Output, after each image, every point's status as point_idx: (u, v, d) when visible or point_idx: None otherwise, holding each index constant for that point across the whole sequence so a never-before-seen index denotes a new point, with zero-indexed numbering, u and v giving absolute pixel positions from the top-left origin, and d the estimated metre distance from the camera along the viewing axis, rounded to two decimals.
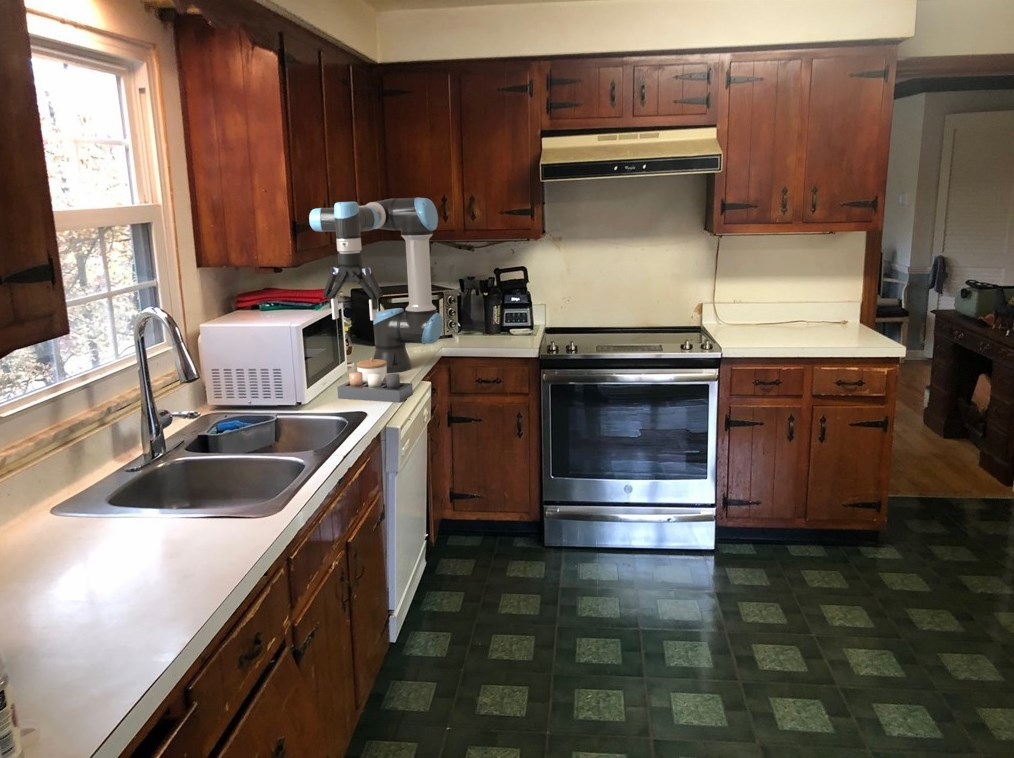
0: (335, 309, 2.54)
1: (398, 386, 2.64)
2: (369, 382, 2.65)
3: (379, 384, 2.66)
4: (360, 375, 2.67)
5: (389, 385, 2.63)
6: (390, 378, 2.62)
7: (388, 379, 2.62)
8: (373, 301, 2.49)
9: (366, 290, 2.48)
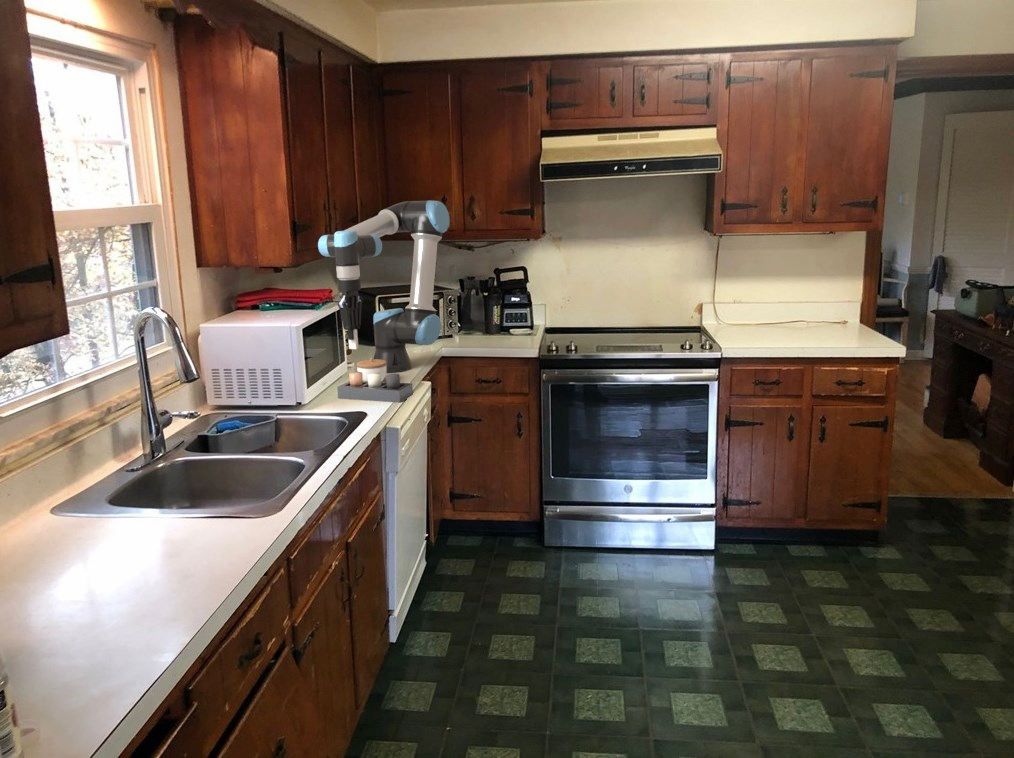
0: None
1: (398, 386, 2.64)
2: (369, 382, 2.65)
3: (379, 384, 2.66)
4: (360, 375, 2.67)
5: (389, 385, 2.63)
6: (390, 378, 2.62)
7: (388, 379, 2.62)
8: None
9: None
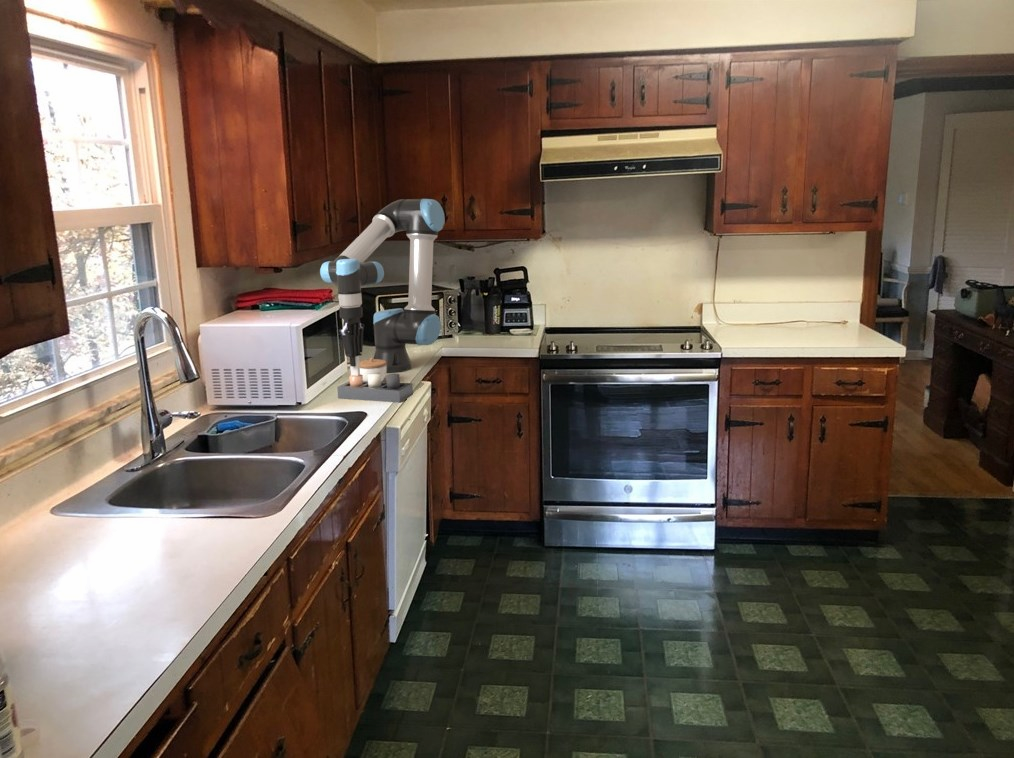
0: None
1: (398, 386, 2.64)
2: (369, 382, 2.65)
3: (379, 384, 2.66)
4: (360, 377, 2.68)
5: (389, 385, 2.63)
6: (390, 378, 2.62)
7: (388, 379, 2.62)
8: None
9: None
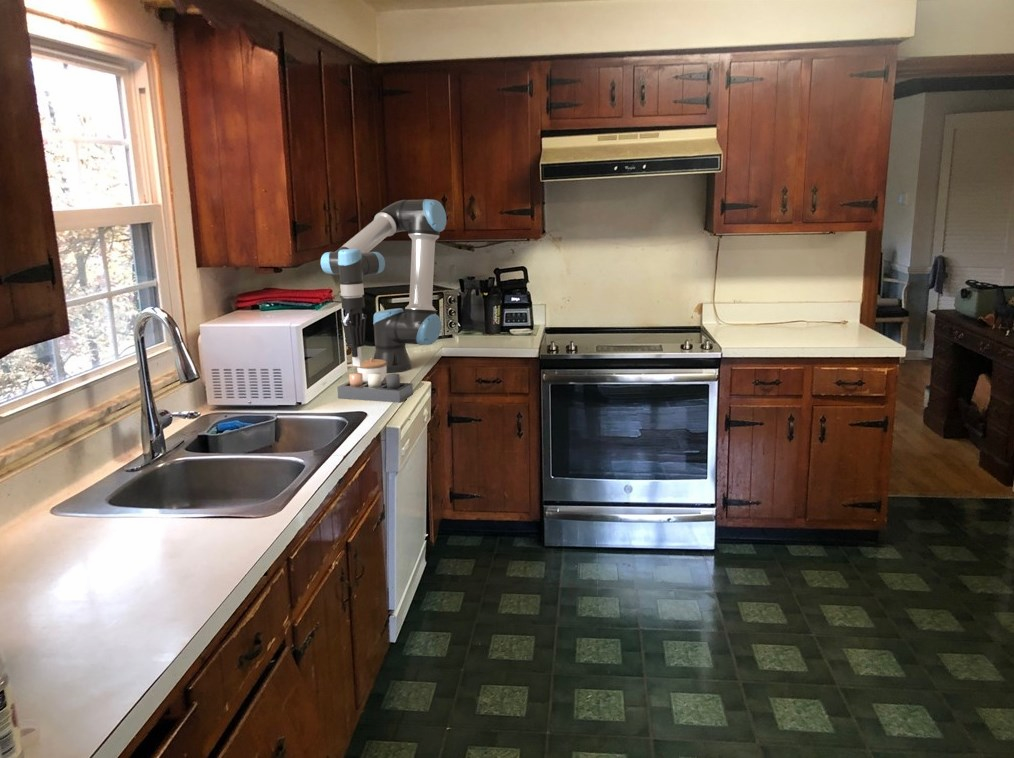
0: None
1: (398, 386, 2.64)
2: (369, 382, 2.65)
3: (379, 384, 2.66)
4: (360, 376, 2.67)
5: (389, 385, 2.63)
6: (390, 378, 2.62)
7: (388, 379, 2.62)
8: None
9: None
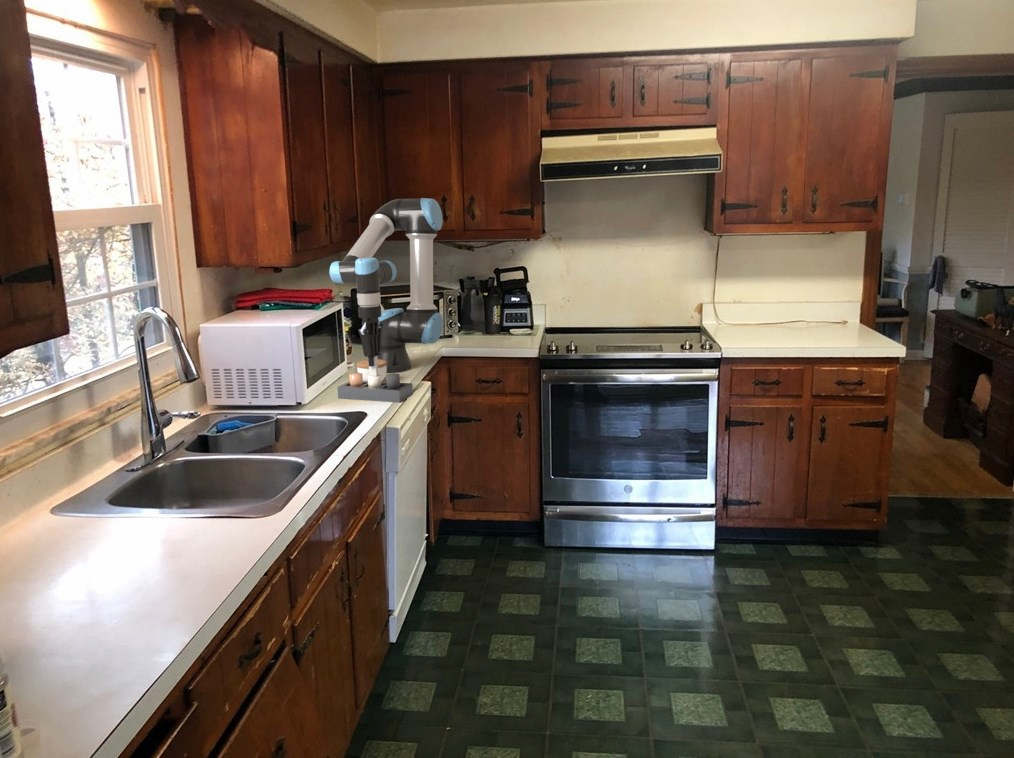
0: None
1: (398, 386, 2.64)
2: (369, 383, 2.65)
3: (379, 385, 2.66)
4: (360, 376, 2.67)
5: (389, 385, 2.63)
6: (390, 378, 2.62)
7: (388, 379, 2.62)
8: None
9: None
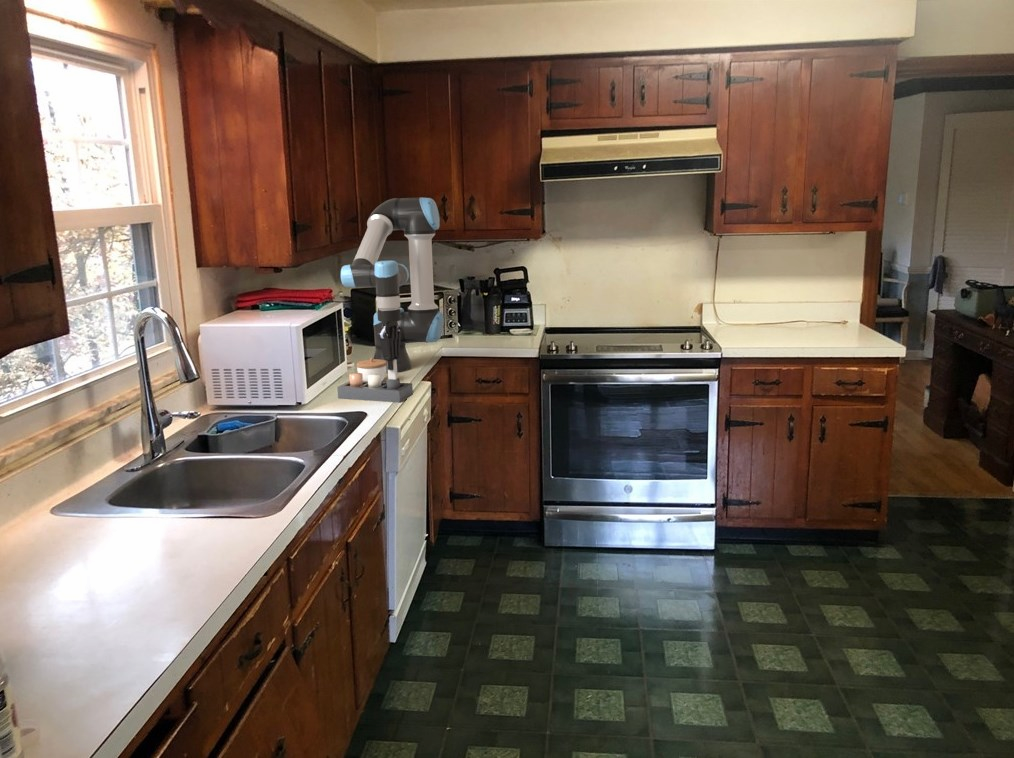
0: None
1: None
2: (369, 383, 2.65)
3: (379, 385, 2.66)
4: (360, 376, 2.67)
5: None
6: (390, 382, 2.62)
7: (388, 383, 2.63)
8: None
9: None
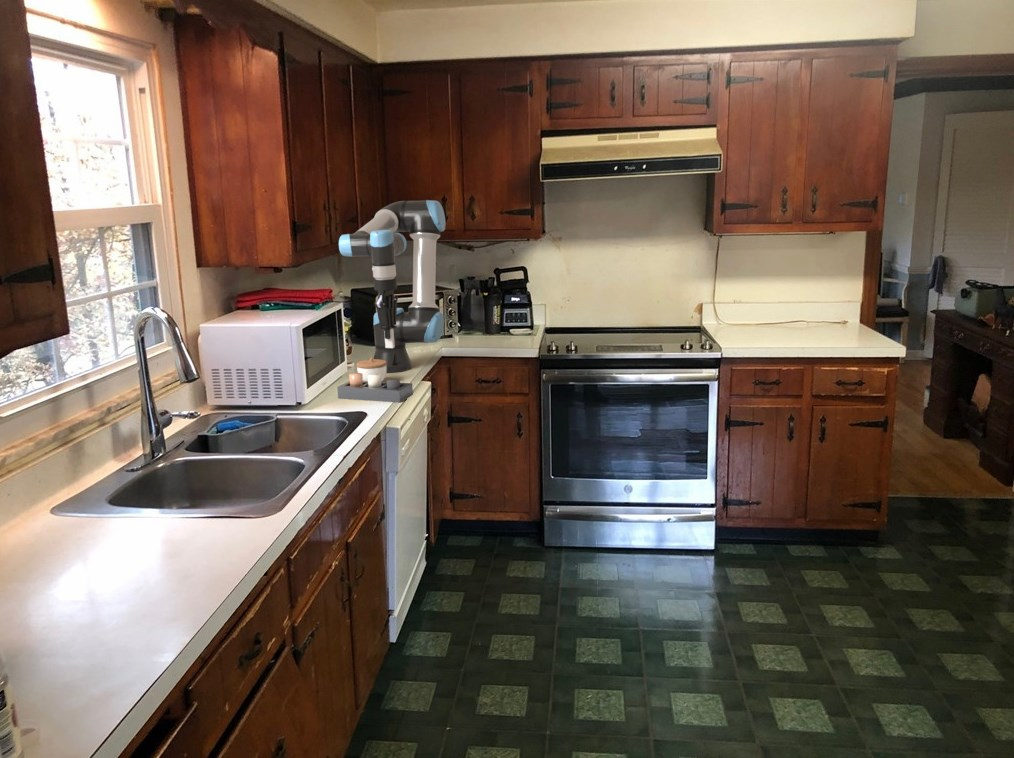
0: None
1: None
2: (369, 383, 2.65)
3: (379, 385, 2.66)
4: (360, 376, 2.67)
5: None
6: (390, 384, 2.62)
7: (388, 385, 2.63)
8: None
9: None
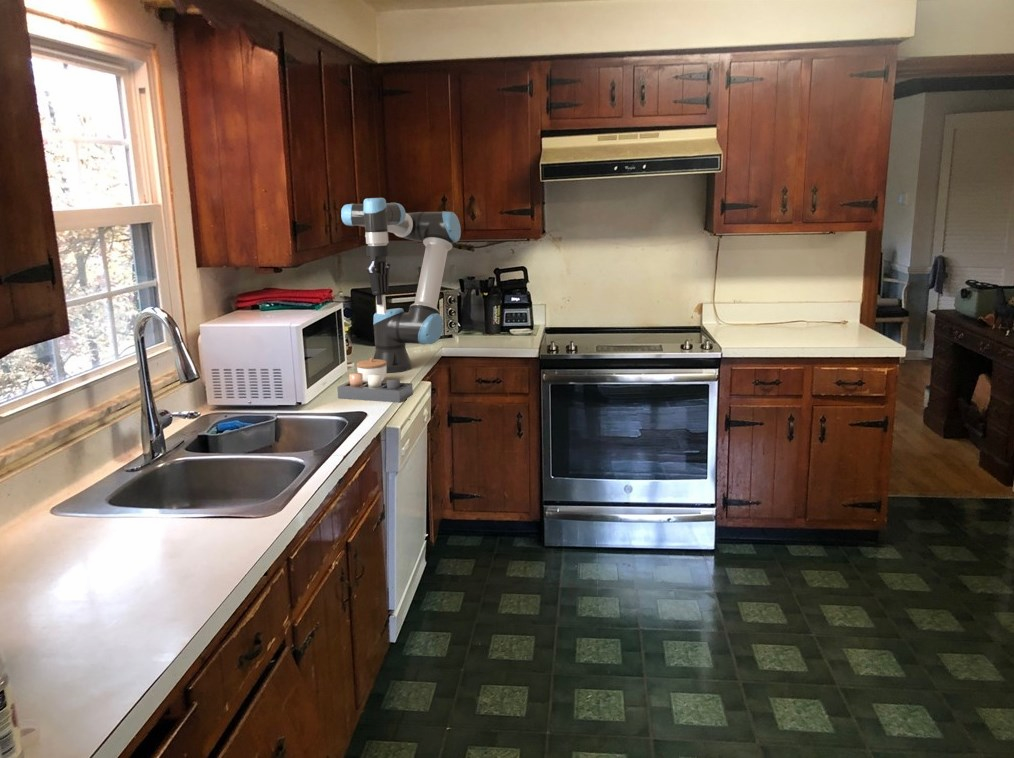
0: None
1: None
2: (369, 383, 2.65)
3: (379, 385, 2.66)
4: (360, 376, 2.67)
5: None
6: (390, 384, 2.62)
7: (388, 385, 2.63)
8: None
9: None
